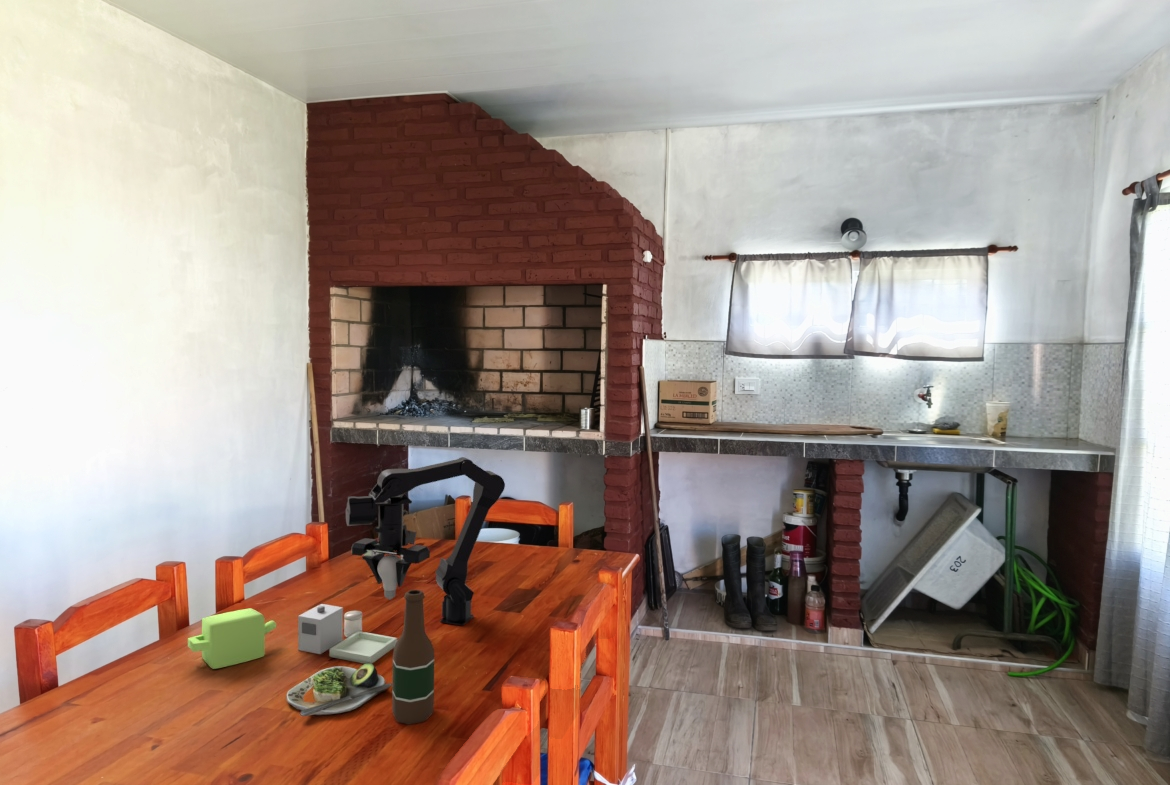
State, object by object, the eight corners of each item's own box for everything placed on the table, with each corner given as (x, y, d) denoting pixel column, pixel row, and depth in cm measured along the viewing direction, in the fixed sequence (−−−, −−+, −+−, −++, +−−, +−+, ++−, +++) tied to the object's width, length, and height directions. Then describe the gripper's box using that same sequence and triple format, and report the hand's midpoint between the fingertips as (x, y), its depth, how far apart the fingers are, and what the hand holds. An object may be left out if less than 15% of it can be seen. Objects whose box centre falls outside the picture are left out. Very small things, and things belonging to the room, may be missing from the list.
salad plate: (336, 734, 129) (336, 709, 128) (261, 712, 135) (261, 688, 135) (401, 687, 146) (401, 665, 146) (332, 670, 153) (332, 649, 153)
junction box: (343, 639, 167) (343, 602, 167) (319, 654, 159) (319, 615, 159) (322, 635, 169) (322, 599, 169) (297, 650, 161) (297, 612, 160)
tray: (397, 645, 165) (397, 637, 165) (370, 664, 155) (370, 656, 155) (358, 638, 168) (358, 631, 168) (329, 656, 158) (329, 648, 158)
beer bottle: (395, 704, 139) (397, 584, 137) (436, 703, 139) (437, 584, 138) (388, 725, 131) (389, 599, 129) (430, 725, 132) (432, 599, 130)
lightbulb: (395, 605, 169) (396, 560, 169) (372, 602, 171) (372, 557, 170) (406, 596, 175) (407, 552, 174) (384, 593, 176) (385, 550, 176)
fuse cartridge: (365, 632, 172) (365, 612, 172) (355, 638, 168) (355, 618, 168) (351, 629, 173) (351, 609, 173) (340, 636, 170) (340, 615, 169)
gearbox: (269, 640, 168) (269, 600, 167) (285, 652, 160) (285, 610, 160) (184, 660, 155) (184, 617, 155) (197, 674, 148) (198, 629, 148)
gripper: (441, 518, 176) (440, 579, 178) (377, 511, 182) (376, 570, 183) (418, 529, 166) (416, 594, 167) (350, 520, 171) (349, 583, 173)
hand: (390, 584), depth 173 cm, fingers closed on lightbulb, 5 cm apart
